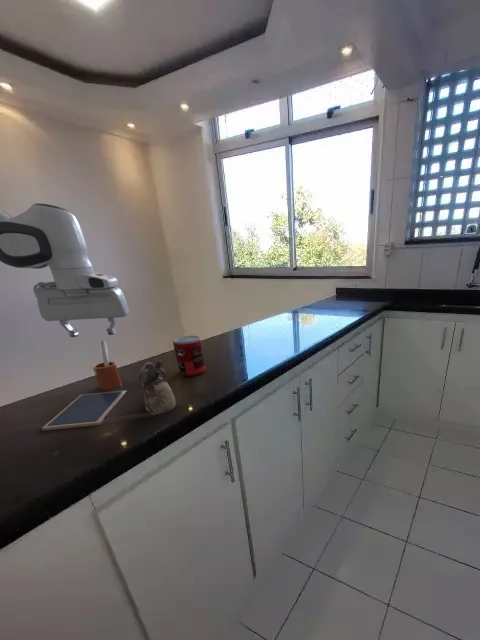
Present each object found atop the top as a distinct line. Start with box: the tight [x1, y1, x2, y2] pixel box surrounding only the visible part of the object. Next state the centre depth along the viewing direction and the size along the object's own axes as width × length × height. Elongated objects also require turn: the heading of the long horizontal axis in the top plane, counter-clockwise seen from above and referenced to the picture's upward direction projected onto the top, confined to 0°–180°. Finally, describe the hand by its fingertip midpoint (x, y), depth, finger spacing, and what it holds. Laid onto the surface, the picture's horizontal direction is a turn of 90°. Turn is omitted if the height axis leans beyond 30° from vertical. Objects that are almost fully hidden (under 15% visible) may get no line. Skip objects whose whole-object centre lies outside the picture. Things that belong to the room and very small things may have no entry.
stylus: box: [100, 340, 110, 367], centre depth 89 cm, size 1×1×13 cm
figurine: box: [138, 360, 177, 416], centre depth 74 cm, size 7×7×12 cm
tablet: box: [41, 390, 127, 431], centre depth 77 cm, size 12×18×1 cm, turn 8°
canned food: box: [172, 335, 207, 378], centre depth 97 cm, size 8×8×11 cm
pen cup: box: [92, 361, 123, 391], centre depth 89 cm, size 6×6×7 cm
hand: (93, 335), depth 83 cm, fingers open, 8 cm apart
